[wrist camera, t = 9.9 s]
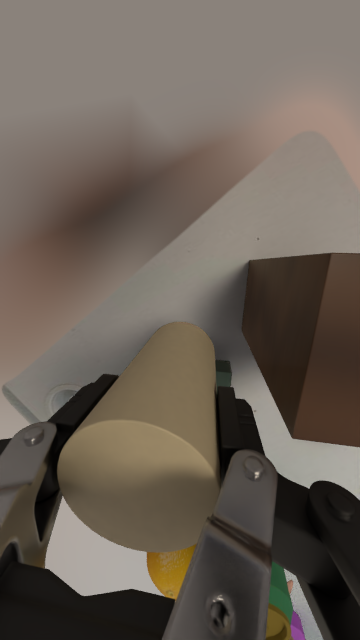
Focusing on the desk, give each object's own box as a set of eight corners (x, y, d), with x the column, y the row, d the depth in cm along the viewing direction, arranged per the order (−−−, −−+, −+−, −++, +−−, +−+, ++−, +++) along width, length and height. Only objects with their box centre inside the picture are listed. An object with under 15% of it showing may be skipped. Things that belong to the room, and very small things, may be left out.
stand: (249, 260, 23) (331, 252, 7) (329, 262, 22) (615, 259, 6) (241, 330, 25) (291, 439, 9) (314, 335, 24) (501, 466, 8)
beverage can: (249, 464, 29) (274, 592, 18) (274, 505, 31) (313, 649, 19) (199, 480, 31) (193, 605, 20) (225, 518, 33) (233, 655, 21)
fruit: (177, 545, 36) (169, 622, 28) (145, 515, 35) (127, 585, 27) (218, 527, 33) (221, 605, 26) (185, 494, 33) (177, 565, 25)
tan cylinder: (148, 319, 15) (45, 410, 6) (217, 323, 15) (230, 434, 5) (148, 380, 17) (66, 536, 7) (212, 386, 16) (215, 568, 6)
